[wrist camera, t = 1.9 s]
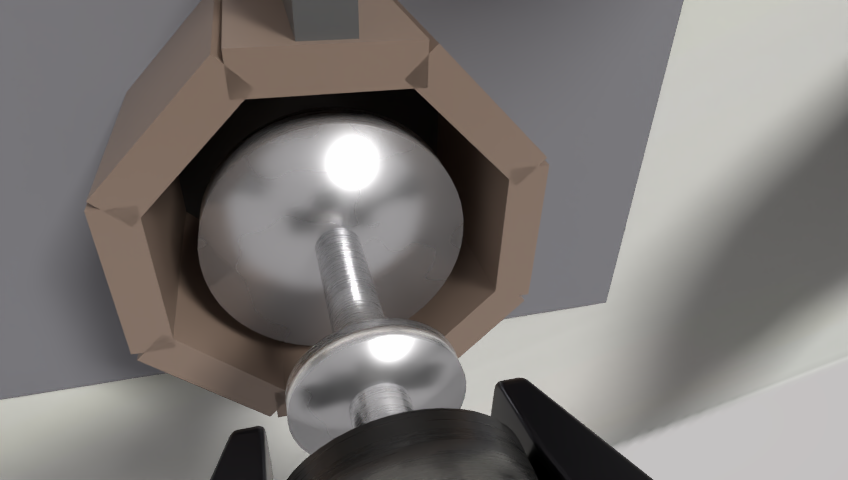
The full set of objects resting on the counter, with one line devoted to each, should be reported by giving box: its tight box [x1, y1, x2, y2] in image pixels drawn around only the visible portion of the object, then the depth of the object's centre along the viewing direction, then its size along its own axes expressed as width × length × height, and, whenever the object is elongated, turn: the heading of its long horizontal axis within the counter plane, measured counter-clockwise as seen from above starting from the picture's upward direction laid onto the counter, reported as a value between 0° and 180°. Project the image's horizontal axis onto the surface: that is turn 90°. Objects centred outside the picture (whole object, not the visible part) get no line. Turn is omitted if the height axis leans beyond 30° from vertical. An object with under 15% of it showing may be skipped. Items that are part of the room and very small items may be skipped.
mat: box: [0, 0, 683, 399], centre depth 16 cm, size 20×14×1 cm
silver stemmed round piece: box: [198, 107, 538, 480], centre depth 9 cm, size 5×5×8 cm
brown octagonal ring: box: [84, 0, 549, 417], centre depth 13 cm, size 8×11×5 cm
